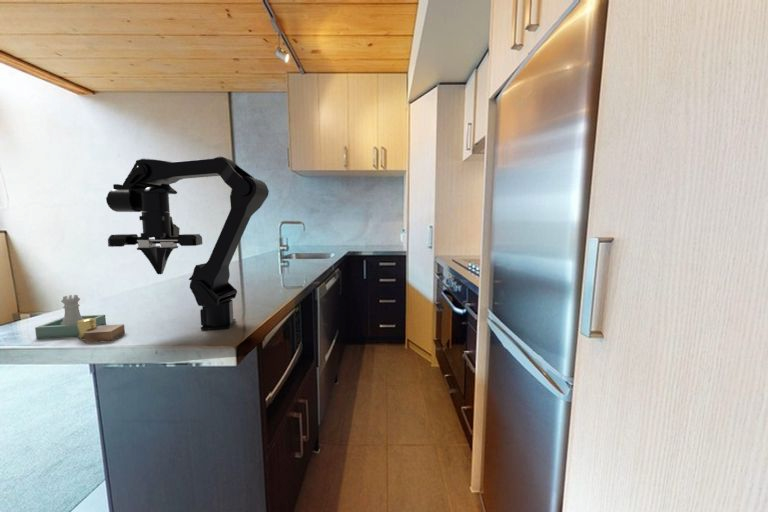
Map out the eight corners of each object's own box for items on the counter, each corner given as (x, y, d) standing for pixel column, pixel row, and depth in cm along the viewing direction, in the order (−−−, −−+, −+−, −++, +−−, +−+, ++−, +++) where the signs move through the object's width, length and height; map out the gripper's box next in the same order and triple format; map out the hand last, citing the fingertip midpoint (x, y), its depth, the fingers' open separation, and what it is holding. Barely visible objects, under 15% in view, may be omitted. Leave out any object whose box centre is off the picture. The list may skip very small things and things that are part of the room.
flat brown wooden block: (125, 334, 74) (124, 324, 74) (111, 342, 69) (111, 331, 69) (100, 336, 73) (99, 325, 73) (85, 344, 68) (84, 333, 68)
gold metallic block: (100, 334, 73) (98, 317, 73) (91, 339, 70) (89, 321, 70) (85, 335, 73) (83, 318, 72) (75, 340, 70) (73, 322, 69)
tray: (106, 324, 81) (105, 314, 80) (80, 335, 72) (79, 325, 72) (66, 325, 79) (65, 316, 79) (36, 338, 70) (35, 327, 70)
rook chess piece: (69, 332, 73) (66, 298, 72) (55, 331, 74) (51, 297, 73) (91, 326, 77) (88, 294, 76) (77, 325, 78) (74, 293, 77)
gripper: (206, 213, 88) (209, 268, 90) (129, 212, 83) (133, 270, 85) (193, 212, 77) (197, 274, 79) (103, 211, 73) (109, 277, 74)
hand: (160, 274), depth 80 cm, fingers closed
